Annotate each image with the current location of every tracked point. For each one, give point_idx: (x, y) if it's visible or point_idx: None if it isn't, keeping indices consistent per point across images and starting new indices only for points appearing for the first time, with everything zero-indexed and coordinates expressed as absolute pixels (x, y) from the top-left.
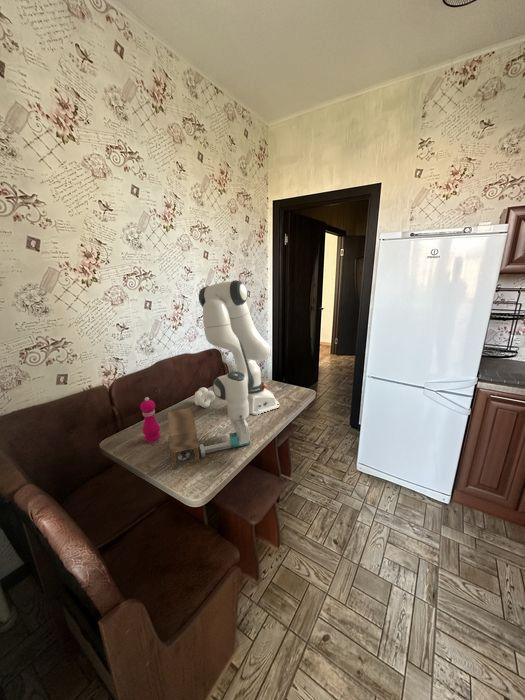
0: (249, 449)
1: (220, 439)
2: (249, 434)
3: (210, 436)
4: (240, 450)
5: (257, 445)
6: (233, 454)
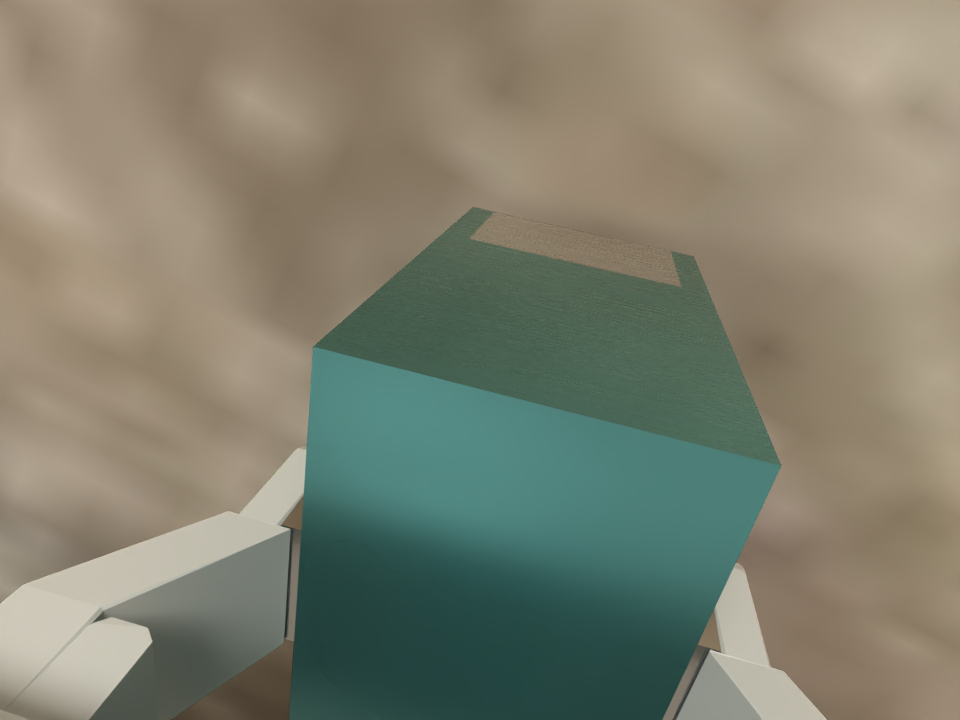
0: (877, 377)
1: None
2: (765, 443)
3: None
4: None
5: (900, 50)
6: None
